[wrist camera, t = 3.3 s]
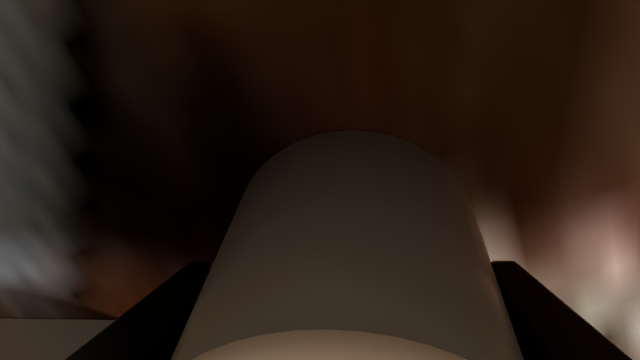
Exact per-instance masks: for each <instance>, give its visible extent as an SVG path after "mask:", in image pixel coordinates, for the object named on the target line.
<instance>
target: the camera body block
mask: <svg viewBox="0 0 640 360" xmlns="http://www.w3.org/2000/svg"><path fill="white" fill-rule="evenodd" d="M114 321H115V320H76V319H11V318H0V360H64V359H66V358H67V357H68V356H70V355H71V354H72V353H73V352H75V351H76V350H77V349H79V348H80V347H81V346H83V345H84V344H85V343H86V342H88V341H89V340H90V339H92V338H93V337H94V336H96V335H97V334H98V333H99V332H101V331H102V330H103V329H105V328H106V327H107V326H108V325H110V324H111V323H112V322H114Z"/></svg>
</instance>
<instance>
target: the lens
mask: <svg viewBox="0 0 640 360" xmlns="http://www.w3.org/2000/svg"><path fill="white" fill-rule="evenodd" d="M171 360H524V359H523V356H522V353H521V350H520V347H519V344H518V341H517V338H516V335H515V332H514V329H513V326H512V323H511V321H510V318H509V315H508V312H507V309H506V306H505V303H504V300H503V297H502V294H501V291H500V288H499V285H498V282H497V279H496V276H495V274H494V271H493V268H492V265H491V262H490V259H489V256H488V253H487V250H486V247H485V244H484V241H483V238H482V235H481V232H480V229H479V227H478V224H477V221H476V218H475V215H474V212H473V209H472V206H471V203H470V200H469V197H468V195H467V194H466V192H465V190H464V188H463V186H462V184H461V183H460V181H459V180H458V179H457V177H456V176H455V175H454V173H453V172H452V171H451V170H450V169H449V168H448V167H447V166H446V165H445V164H444V163H443V162H442V161H440V160H439V159H438V158H437V157H435V156H434V155H433V154H431V153H430V152H428V151H427V150H425V149H423V148H421V147H420V146H418V145H416V144H414V143H411V142H409V141H407V140H404V139H402V138H399V137H395V136H392V135H388V134H385V133H379V132H372V131H364V130H344V131H333V132H327V133H323V134H318V135H314V136H311V137H308V138H305V139H303V140H300V141H297V142H295V143H294V144H292V145H290V146H288V147H286V148H284V149H282V150H281V151H280V152H278V153H277V154H275V155H274V156H272V157H271V158H270V159H269V160H268V161H267V162H266V163H265V164H264V165H263V166H261V168H260V169H259V170H258V171H257V173H256V174H255V175H254V176H253V178H252V179H251V181H250V183H249V185H248V186H247V188H246V190H245V192H244V194H243V197H242V199H241V201H240V203H239V206H238V208H237V210H236V213H235V215H234V217H233V219H232V222H231V224H230V226H229V228H228V231H227V233H226V235H225V238H224V240H223V242H222V244H221V247H220V249H219V251H218V253H217V256H216V258H215V260H214V263H213V265H212V267H211V269H210V272H209V274H208V276H207V278H206V281H205V283H204V285H203V288H202V290H201V292H200V294H199V297H198V299H197V301H196V303H195V306H194V308H193V310H192V313H191V315H190V317H189V319H188V322H187V324H186V326H185V328H184V331H183V333H182V335H181V338H180V340H179V342H178V344H177V347H176V349H175V351H174V353H173V356H172V358H171Z"/></svg>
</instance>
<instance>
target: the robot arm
mask: <svg viewBox="0 0 640 360" xmlns="http://www.w3.org/2000/svg"><path fill="white" fill-rule="evenodd" d="M212 265H213V263H212V262H211V261H193V262H190V263H189V264H187V265H186V266H185V267H184V268H182V269H181V270H180V271H178V272H177V273H176V274H174V275H173V276H172V277H171V278H169V279H168V280H167V281H165V282H164V283H163V284H162V285H160V286H159V287H158V288H156V289H155V290H154V291H152V292H151V293H150V294H149V295H147V296H146V297H145V298H143V299H142V300H141V301H140V302H138V303H137V304H136V305H134V306H133V307H132V308H130V309H129V310H128V311H127V312H125V313H124V314H123V315H121V316H120V317H119V318H118V319H116V320H115V321H114V322H112V323H111V324H110V325H108V326H107V327H106V328H105V329H103V330H102V331H101V332H99V333H98V334H97V335H96V336H94V337H93V338H92V339H90V340H89V341H88V342H86V343H85V344H84V345H83V346H81V347H80V348H79V349H77V350H76V351H75V352H73V353H72V354H71V355H70V356H68V357H67V358H66V359H64V360H171V358H172V356H173V353H174V351H175V349H176V347H177V344H178V342H179V340H180V338H181V335H182V333H183V331H184V328H185V326H186V324H187V322H188V319H189V317H190V315H191V313H192V310H193V308H194V306H195V303H196V301H197V299H198V297H199V294H200V292H201V290H202V288H203V285H204V283H205V281H206V278H207V276H208V274H209V272H210V269H211V267H212ZM491 265H492V268H493V271H494V274H495V276H496V279H497V282H498V285H499V288H500V291H501V294H502V297H503V300H504V303H505V306H506V309H507V312H508V315H509V318H510V321H511V323H512V326H513V329H514V332H515V335H516V338H517V341H518V344H519V347H520V350H521V353H522V356H523V359H524V360H632V359H631V358H630V357H629V356H627V355H626V354H625V353H624V352H623V351H621V350H620V349H619V348H618V347H617V346H615V345H614V344H613V343H612V342H611V341H610V340H608V339H607V338H606V337H605V336H604V335H602V334H601V333H600V332H599V331H598V330H596V329H595V328H594V327H593V326H592V325H590V324H589V323H588V322H587V321H586V320H584V319H583V318H582V317H581V316H580V315H578V314H577V313H576V312H575V311H574V310H572V309H571V308H570V307H569V306H568V305H566V304H565V303H564V302H563V301H562V300H560V299H559V298H558V297H557V296H556V295H555V294H553V293H552V292H551V291H550V290H549V289H547V288H546V287H545V286H544V285H543V284H541V283H540V282H539V281H538V280H537V279H535V278H534V277H533V276H532V275H531V274H529V273H528V272H527V271H526V270H525V269H523V268H522V267H521V266H520V265H519V264H517V263H516V262H514V261H492V262H491Z"/></svg>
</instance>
